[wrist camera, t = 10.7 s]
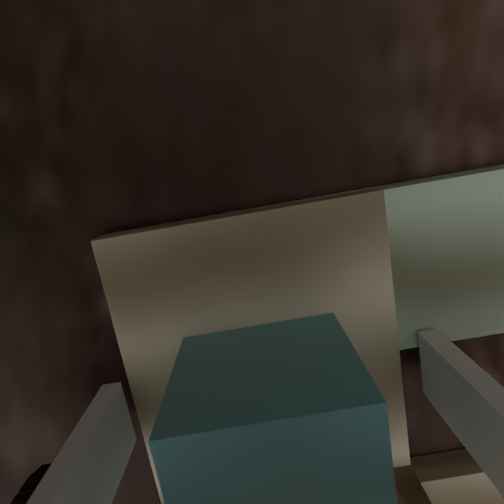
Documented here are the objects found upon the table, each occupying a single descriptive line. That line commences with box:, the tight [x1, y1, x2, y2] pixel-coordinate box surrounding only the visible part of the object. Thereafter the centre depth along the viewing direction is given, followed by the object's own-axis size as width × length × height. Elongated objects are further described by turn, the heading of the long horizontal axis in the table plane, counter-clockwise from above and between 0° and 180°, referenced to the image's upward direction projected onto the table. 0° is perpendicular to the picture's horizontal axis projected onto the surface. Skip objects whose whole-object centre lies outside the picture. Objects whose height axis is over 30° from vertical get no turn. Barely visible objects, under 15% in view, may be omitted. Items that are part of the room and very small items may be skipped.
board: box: [91, 164, 504, 504], centre depth 19 cm, size 28×18×2 cm, turn 10°
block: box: [148, 313, 397, 504], centre depth 14 cm, size 6×6×6 cm
